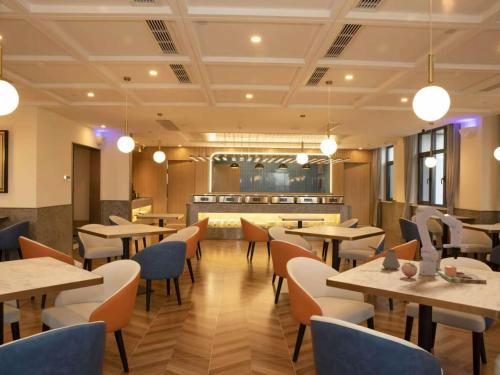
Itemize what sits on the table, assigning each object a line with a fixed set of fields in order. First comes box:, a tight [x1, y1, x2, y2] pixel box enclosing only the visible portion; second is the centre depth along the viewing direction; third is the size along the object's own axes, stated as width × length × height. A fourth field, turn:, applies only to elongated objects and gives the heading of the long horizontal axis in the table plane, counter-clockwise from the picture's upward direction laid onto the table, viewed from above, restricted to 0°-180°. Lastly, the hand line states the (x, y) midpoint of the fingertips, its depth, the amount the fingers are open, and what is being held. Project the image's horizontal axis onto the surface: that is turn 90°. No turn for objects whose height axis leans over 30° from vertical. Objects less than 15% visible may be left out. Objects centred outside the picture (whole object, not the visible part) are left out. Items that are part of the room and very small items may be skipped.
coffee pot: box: [367, 245, 401, 271], centre depth 273 cm, size 21×12×15 cm, turn 70°
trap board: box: [437, 270, 487, 285], centre depth 244 cm, size 20×23×2 cm
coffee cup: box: [432, 245, 443, 270], centre depth 277 cm, size 9×9×15 cm
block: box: [444, 265, 457, 276], centre depth 245 cm, size 5×5×5 cm
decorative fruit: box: [400, 261, 418, 278], centre depth 244 cm, size 9×8×10 cm
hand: (455, 258), depth 260 cm, fingers closed
